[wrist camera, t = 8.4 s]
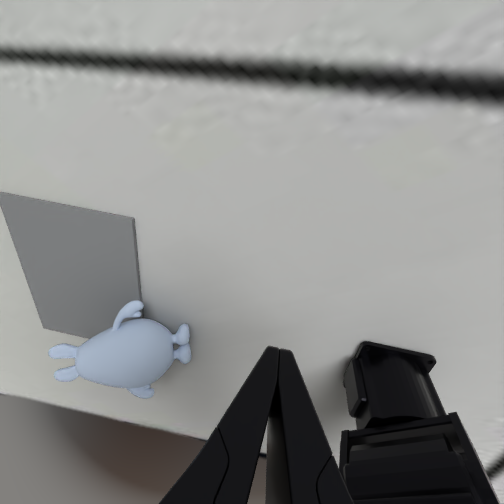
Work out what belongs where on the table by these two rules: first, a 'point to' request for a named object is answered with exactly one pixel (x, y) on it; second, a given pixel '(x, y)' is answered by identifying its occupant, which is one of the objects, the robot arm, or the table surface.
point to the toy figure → (126, 353)
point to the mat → (74, 262)
